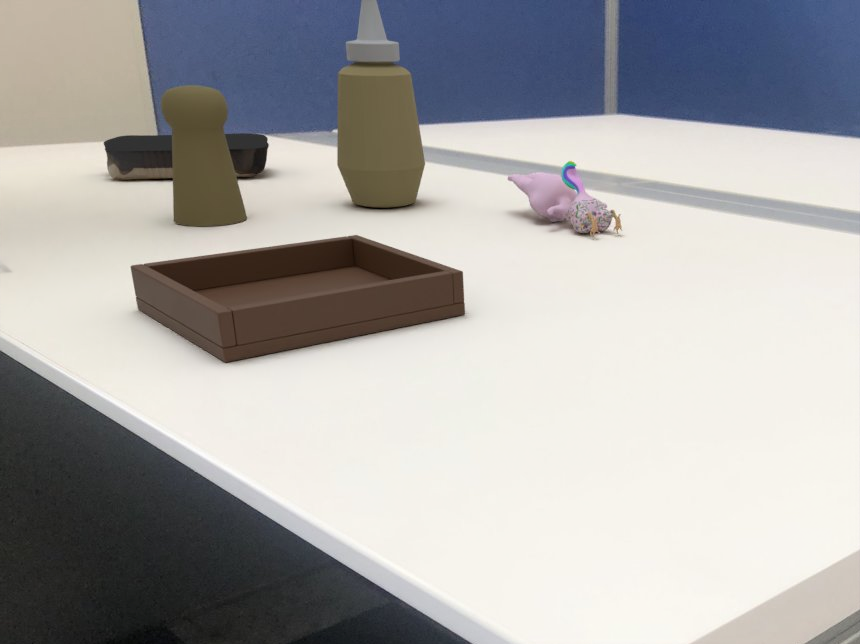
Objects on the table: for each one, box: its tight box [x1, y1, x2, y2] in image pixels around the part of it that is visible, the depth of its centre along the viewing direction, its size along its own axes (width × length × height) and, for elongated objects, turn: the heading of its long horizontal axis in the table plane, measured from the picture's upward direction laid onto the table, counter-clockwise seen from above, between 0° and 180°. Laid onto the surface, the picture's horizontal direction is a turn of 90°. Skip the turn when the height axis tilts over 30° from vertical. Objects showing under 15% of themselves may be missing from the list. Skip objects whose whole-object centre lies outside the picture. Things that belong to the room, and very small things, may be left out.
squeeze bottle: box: [336, 0, 426, 209], centre depth 98 cm, size 8×8×18 cm
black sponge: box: [103, 132, 270, 181], centre depth 114 cm, size 16×8×4 cm, turn 105°
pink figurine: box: [507, 160, 624, 238], centre depth 94 cm, size 6×6×15 cm
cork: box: [160, 84, 248, 227], centre depth 91 cm, size 6×6×11 cm
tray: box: [130, 234, 466, 363], centre depth 67 cm, size 16×14×3 cm
